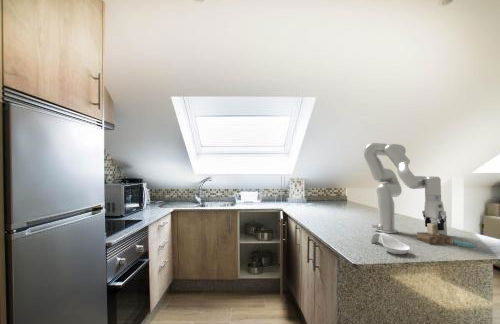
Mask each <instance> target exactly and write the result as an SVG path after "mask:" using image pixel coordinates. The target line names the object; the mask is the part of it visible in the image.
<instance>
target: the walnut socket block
mask: <svg viewBox="0 0 500 324" xmlns="http://www.w3.org/2000/svg"><path fill="white" fill-rule="evenodd" d="M451 238H452V237H451V236H449V235H447V236H446V235H443V234H440V233H439V236H432V235H429V234H427V231H425V232H424V231H423V232H421V231H420V232H417V233H416V240H418V241H421V242H422V243H425V244H427V245H451V243H452V241H451Z"/></svg>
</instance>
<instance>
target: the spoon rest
mask: <svg viewBox="0 0 500 324" xmlns="http://www.w3.org/2000/svg"><path fill="white" fill-rule="evenodd" d="M380 238H381V244H382V246H383V248H384V249H385V250H386V251H387V252H388V253H390V254H391V255H393V254H394V255H405V254H407V253H409V252H410V251H411V247H410V246H409V245H407V244H406V243H403V241H401V240H398V239H396V238H395V237H393V236H391V235H390V234H389V233H384V232H375V233H373V235H372V236H371V238H370V243H371V244H377V243H378V244H379V243H380V240H379V239H380Z"/></svg>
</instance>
